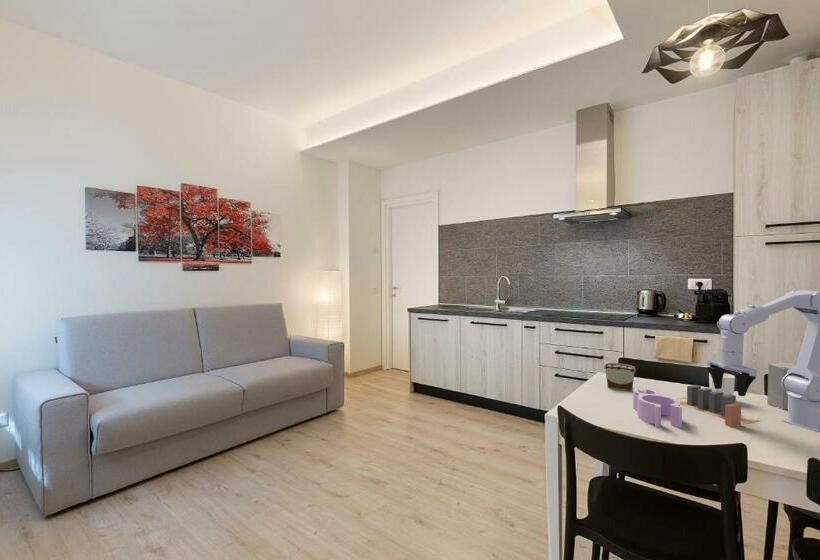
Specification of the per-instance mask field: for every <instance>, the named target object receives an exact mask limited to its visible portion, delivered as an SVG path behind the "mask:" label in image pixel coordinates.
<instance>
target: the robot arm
mask: <svg viewBox="0 0 820 560" xmlns="http://www.w3.org/2000/svg"><path fill="white" fill-rule="evenodd" d="M791 308H793V309H795V310H796V311H798V313H801V314H802V315H804V317H805V318H807V320H808V321H807V325H806V329H805V333H804V336H803V339H802V343H801V347H800V350H799V354H798V358H797V361H796V363H795V364H796V366H794V367H792V368H790V369H788V371H787V374H786V375H785V376H784V377H783V379H782V382H781V384H782V387H783V388H784V389H785V390H786V394H788V409H787V418H781V419H780V421H781V422H783V423H787V424H790V425H794V426H797V427H800V428H804V429H806V430H811V431H814V432H817V433H818V432H820V290H805V289H804V290H803V289H794V290H792V291H788V292H785V294H784V295H782V296H780V297H778V298H776V299H774V300H772V301H770V302H767V303H765V304H763V305H759V304H749V305H747V308H744V309H741V310H739V311H738V310H736V311H733V314H723V315H721V317H720V318H719V320H718V321H717V322H716V325H717V328H718V329H719V330H720V331H719V332H720V335H721V336H720V353H719V354H720V356H719V357H720V358H719V360H716V359H710V358H709V359H707V360H706V366H707V367H706V369H707V371H708V374H709V373H710V374H711V377H712V379H713V383H714V387H715V389H721V388H722V379H723V375H724V373H726V372H725V371H726V370H727V371H731V372H736V373H735V378H736V380H737V394H738V397H746V394H747V392H748V390H749V388H750V386H751V384H752V383H753V382H754V380H755V379H757V377H758V369H755V368H751V367H749V366H745V365H743V362H744V361H743V360H744V359H743V358H744V341H745V340H744V337H745V335H744V334H745V333H747V332H748V331H749V330H750V328H751V327H754V326H756V325H758V324H761V323H763V322H765V321H768V319H769V317H770V316H771V315H774V314H776V313H779V312H782V311H785V310H788V309H791ZM803 376H805V377H803Z"/></svg>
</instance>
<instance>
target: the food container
mask: <svg viewBox="0 0 820 560" xmlns="http://www.w3.org/2000/svg"><path fill="white" fill-rule="evenodd" d="M635 367H636V366H633V365H631V364H627V363H619V362H608V363H606V364H605V365H604V368H603V370H605V376H606V377H605V378H606V385H607V388H608V389H614V388H616V389H615V390H621V389H624V390H623V391H629V390H631V392H633V389H634V379H635V373H637V369H636V368H635Z"/></svg>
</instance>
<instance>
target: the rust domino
mask: <svg viewBox="0 0 820 560" xmlns="http://www.w3.org/2000/svg"><path fill="white" fill-rule="evenodd" d="M741 415H742V405H741V404H739V403H737V402H736V403H733V404H728V405H725V419H724V425H725V427H730V428H734V427H740V426H742V425H741Z"/></svg>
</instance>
